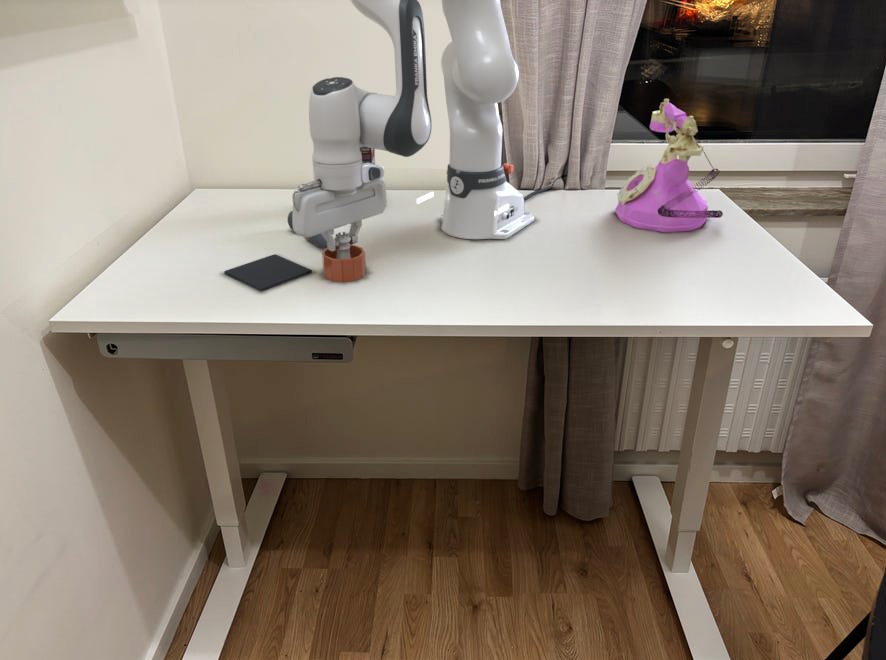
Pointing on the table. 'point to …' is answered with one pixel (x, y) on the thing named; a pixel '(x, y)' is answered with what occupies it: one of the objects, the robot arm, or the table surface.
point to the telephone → (667, 181)
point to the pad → (267, 272)
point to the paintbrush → (316, 239)
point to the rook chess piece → (343, 246)
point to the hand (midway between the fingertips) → (343, 246)
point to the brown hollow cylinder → (344, 265)
